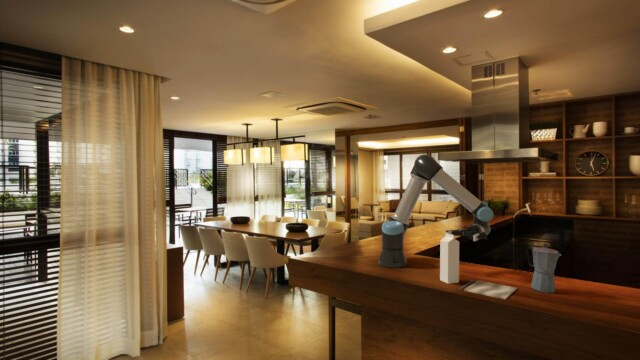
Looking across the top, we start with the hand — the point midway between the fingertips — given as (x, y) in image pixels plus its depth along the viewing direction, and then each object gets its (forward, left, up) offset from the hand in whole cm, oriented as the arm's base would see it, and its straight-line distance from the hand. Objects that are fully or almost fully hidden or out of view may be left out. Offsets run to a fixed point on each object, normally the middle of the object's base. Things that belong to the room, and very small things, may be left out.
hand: (459, 236), depth 170 cm
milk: (0, -11, -20) cm, 23 cm away
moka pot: (+34, +5, -20) cm, 39 cm away
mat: (+16, -11, -19) cm, 28 cm away
